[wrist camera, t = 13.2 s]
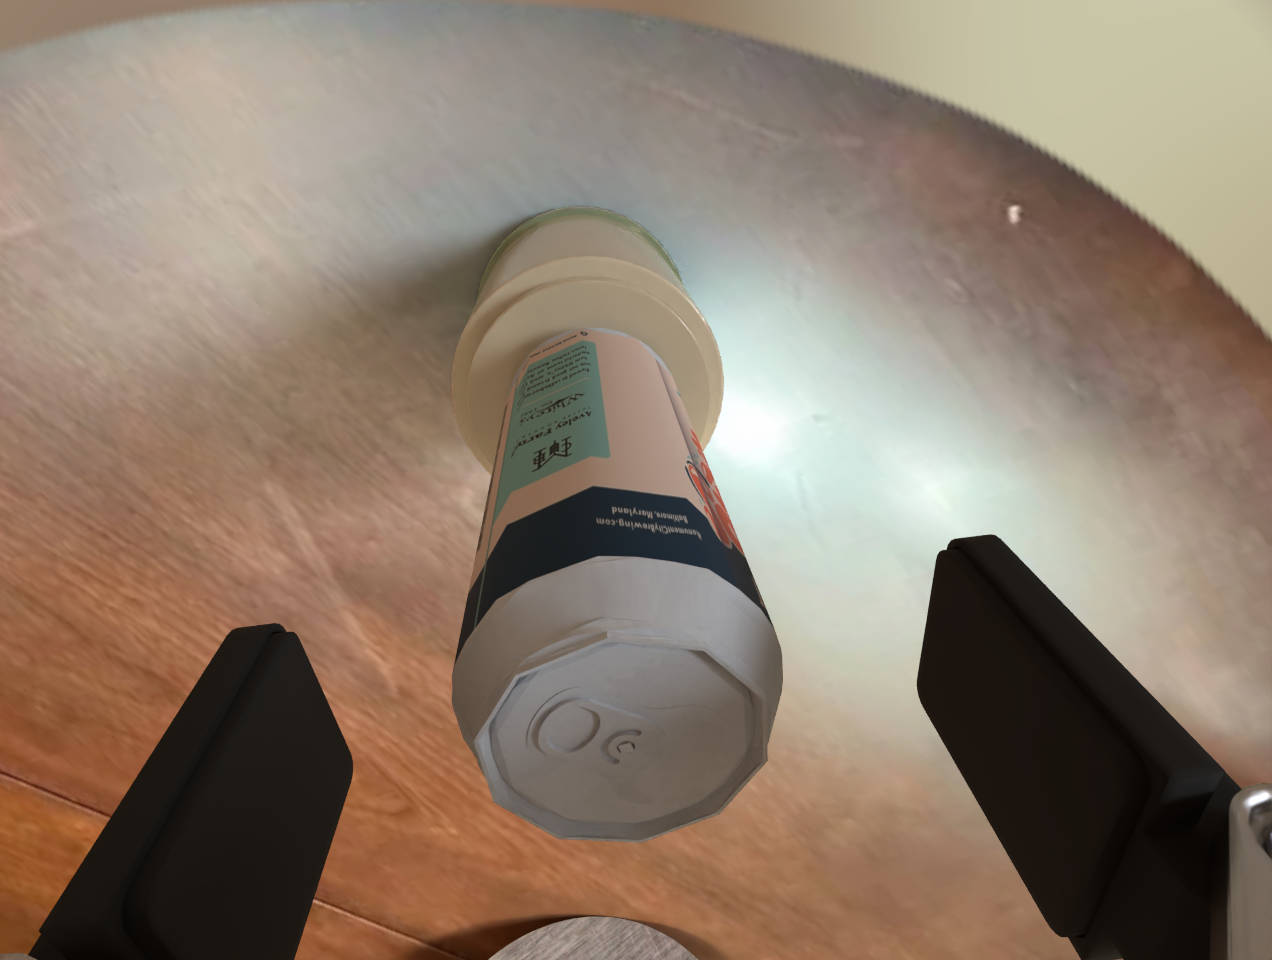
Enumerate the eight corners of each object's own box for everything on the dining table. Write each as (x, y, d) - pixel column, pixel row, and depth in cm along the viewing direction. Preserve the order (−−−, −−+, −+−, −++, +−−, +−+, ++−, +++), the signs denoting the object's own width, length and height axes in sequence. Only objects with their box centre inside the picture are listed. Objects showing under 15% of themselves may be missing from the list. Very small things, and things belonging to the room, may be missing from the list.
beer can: (624, 501, 21) (683, 891, 11) (480, 437, 20) (384, 815, 9) (707, 371, 19) (877, 684, 9) (555, 289, 18) (543, 549, 7)
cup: (581, 155, 25) (590, 178, 17) (725, 316, 28) (792, 403, 20) (434, 314, 27) (376, 406, 19) (583, 446, 31) (591, 573, 22)
